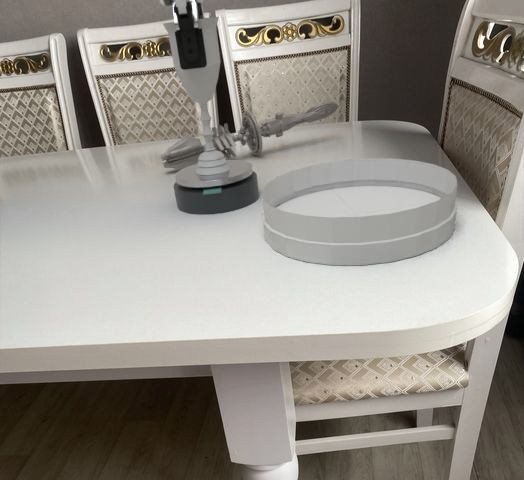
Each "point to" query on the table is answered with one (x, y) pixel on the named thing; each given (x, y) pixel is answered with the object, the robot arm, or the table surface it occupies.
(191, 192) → the scale
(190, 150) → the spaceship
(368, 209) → the gray round ring
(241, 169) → the scale pan
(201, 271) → the table surface
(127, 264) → the table surface
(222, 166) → the chalice
